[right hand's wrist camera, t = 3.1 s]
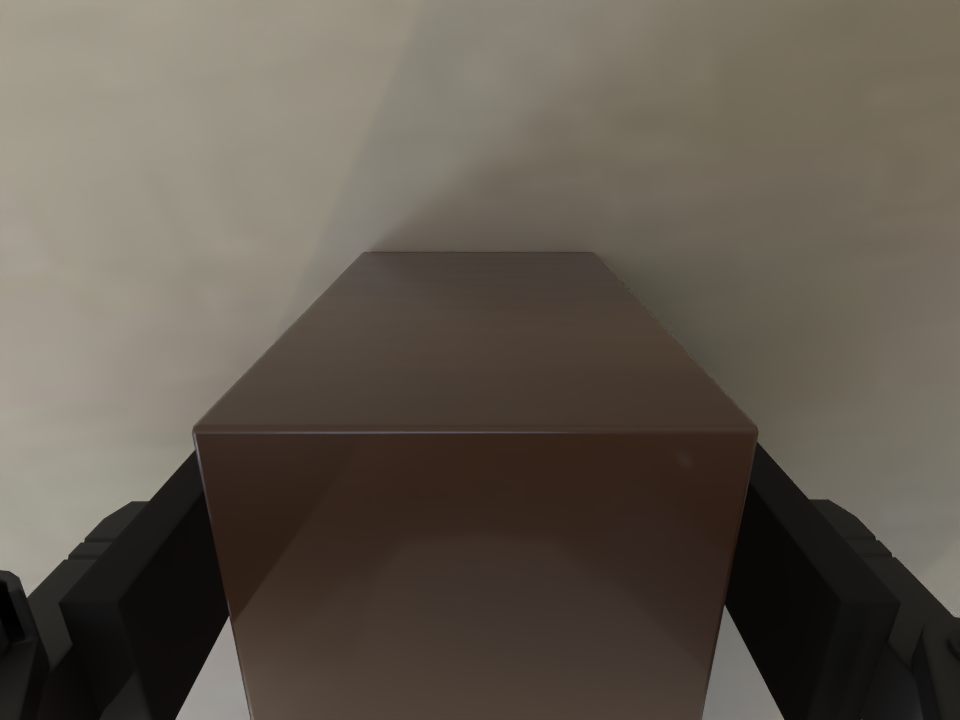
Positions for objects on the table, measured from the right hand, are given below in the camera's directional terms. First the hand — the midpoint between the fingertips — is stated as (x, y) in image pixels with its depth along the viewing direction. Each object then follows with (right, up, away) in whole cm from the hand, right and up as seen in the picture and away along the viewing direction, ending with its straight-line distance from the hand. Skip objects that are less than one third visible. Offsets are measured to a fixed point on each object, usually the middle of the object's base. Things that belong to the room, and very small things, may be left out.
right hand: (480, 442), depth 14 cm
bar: (0, -8, +3) cm, 9 cm away
